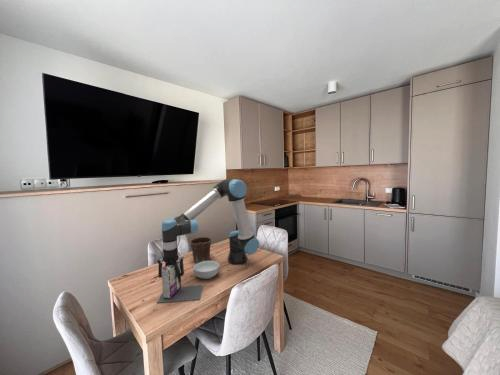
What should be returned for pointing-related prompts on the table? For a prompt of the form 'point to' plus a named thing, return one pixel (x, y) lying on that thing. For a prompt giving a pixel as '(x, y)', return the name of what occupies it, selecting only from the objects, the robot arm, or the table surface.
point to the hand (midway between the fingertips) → (172, 288)
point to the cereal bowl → (206, 269)
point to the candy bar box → (169, 280)
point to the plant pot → (201, 249)
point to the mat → (183, 294)
